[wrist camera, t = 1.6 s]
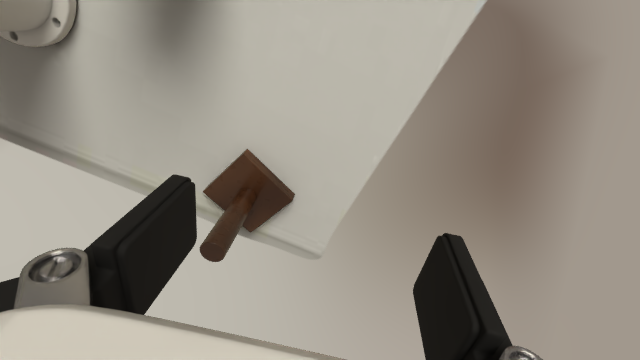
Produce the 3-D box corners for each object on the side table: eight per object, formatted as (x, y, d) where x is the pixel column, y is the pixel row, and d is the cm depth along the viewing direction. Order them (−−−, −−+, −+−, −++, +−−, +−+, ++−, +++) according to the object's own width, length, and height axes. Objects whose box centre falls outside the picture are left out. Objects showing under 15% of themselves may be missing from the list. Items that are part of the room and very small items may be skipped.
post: (207, 185, 38) (154, 246, 28) (247, 148, 35) (202, 201, 25) (253, 225, 41) (219, 294, 31) (295, 194, 38) (271, 259, 28)
